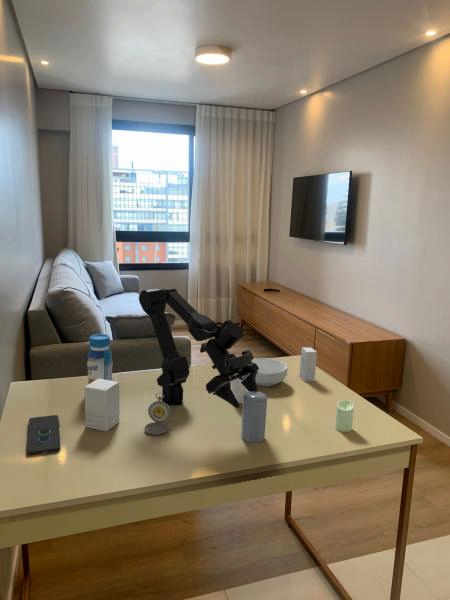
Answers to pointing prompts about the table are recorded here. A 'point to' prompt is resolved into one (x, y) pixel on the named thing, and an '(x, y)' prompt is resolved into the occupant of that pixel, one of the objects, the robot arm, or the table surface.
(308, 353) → the skincare box
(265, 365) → the cereal bowl
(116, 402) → the supplement box
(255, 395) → the grey faceted canister
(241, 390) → the white cup
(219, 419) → the table surface
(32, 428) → the smart home device
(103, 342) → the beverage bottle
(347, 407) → the candle
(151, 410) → the pocket watch
